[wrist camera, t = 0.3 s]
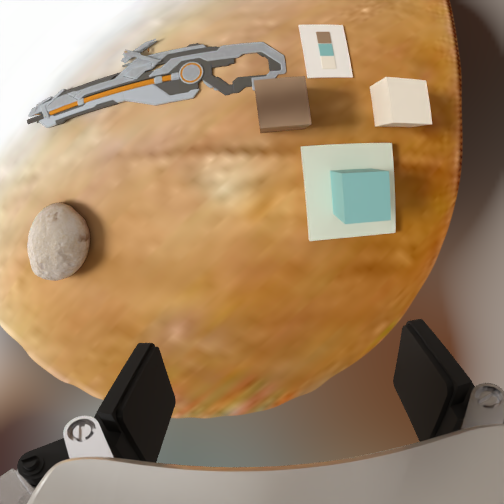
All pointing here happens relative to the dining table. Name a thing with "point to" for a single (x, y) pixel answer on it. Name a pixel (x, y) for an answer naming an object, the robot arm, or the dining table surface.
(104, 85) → the gun
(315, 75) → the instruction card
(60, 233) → the stone
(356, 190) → the teal brick
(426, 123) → the cream brick
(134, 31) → the dining table surface
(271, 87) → the walnut brick
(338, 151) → the baseplate
